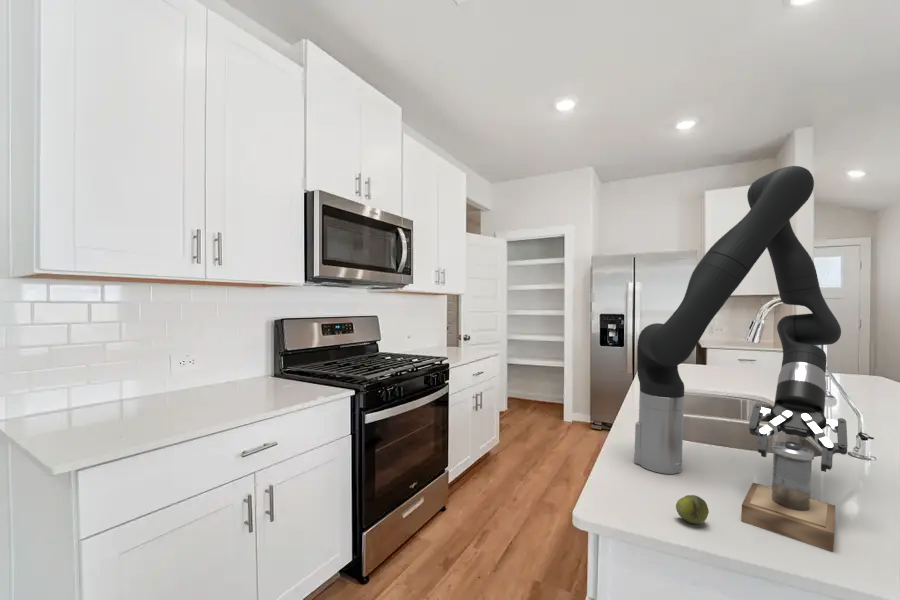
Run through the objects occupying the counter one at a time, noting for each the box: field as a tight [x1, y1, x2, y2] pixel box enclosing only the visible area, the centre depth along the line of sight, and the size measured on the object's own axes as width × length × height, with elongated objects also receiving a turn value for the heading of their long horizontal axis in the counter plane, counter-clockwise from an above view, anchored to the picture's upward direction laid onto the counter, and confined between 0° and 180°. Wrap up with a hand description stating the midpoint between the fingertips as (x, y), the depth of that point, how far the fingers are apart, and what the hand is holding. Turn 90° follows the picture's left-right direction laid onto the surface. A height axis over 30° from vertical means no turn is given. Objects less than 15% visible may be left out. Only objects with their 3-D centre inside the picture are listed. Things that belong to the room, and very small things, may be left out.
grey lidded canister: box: [771, 441, 815, 511], centre depth 73 cm, size 6×6×11 cm
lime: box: [675, 494, 710, 525], centre depth 72 cm, size 4×5×5 cm
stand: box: [740, 482, 836, 553], centre depth 73 cm, size 12×12×3 cm
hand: (792, 461), depth 75 cm, fingers open, 8 cm apart
